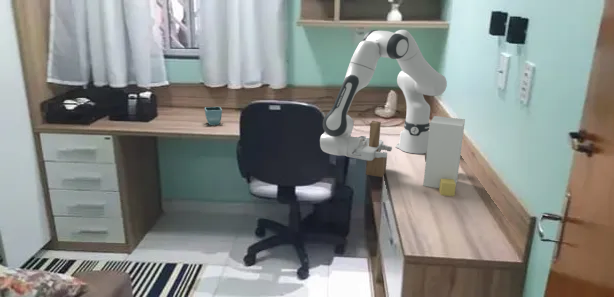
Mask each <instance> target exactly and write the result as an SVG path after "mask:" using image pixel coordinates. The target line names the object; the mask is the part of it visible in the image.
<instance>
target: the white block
mask: <svg viewBox="0 0 614 297" xmlns="http://www.w3.org/2000/svg"><path fill="white" fill-rule="evenodd" d="M429 123H430V127H429V137H428V147H427V156H426V162H425V165H424V166H425V168H424V177H423V187H428V188H435V189H439V187H440V179H454V181H455V183H456V184H457V183H458V178H459V176H458V175H459V169H460V163H461V162H460V161H461V153H462V146H463V145H462V144H463V139H464V131H465V125H466V124H465V123H466V119H464V118H455V117H454V118H453V117H448V116H447V117H446V116H437V115H433V117H432V119H431V120H430V121H429Z"/></svg>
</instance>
